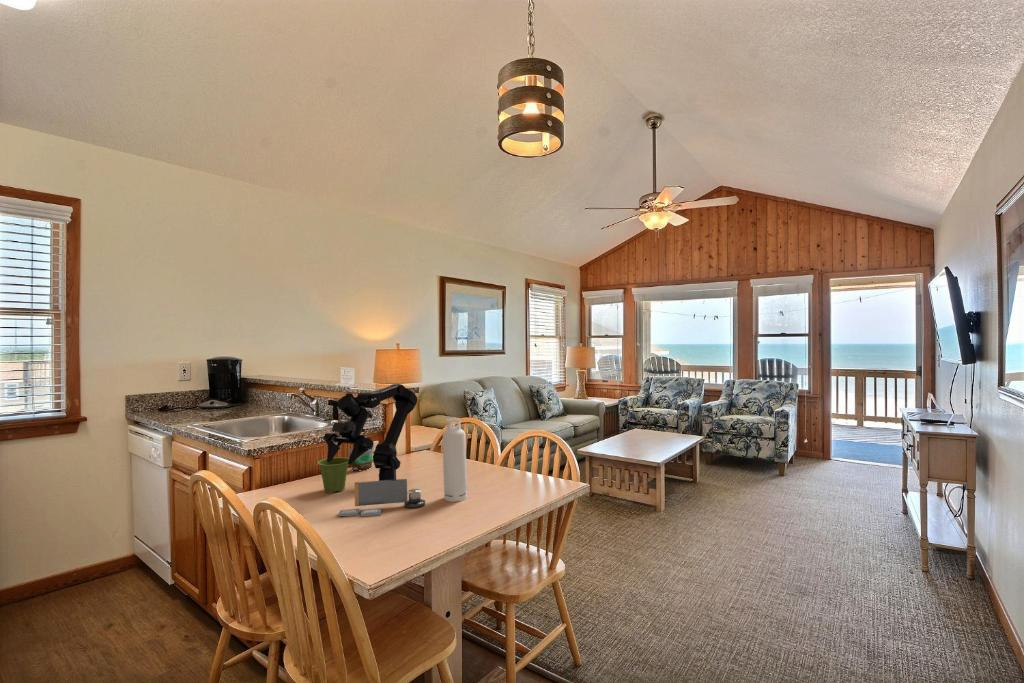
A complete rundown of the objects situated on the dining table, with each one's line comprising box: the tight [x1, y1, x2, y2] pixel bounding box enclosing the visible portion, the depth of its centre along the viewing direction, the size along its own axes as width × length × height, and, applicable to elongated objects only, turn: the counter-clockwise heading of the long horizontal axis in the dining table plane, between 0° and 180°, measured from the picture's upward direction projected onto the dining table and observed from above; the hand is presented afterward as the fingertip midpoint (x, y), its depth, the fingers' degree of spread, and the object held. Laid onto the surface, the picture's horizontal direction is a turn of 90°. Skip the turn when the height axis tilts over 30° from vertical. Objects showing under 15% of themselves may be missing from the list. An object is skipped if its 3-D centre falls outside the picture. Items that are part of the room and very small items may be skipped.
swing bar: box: [354, 478, 422, 507], centre depth 169 cm, size 22×4×8 cm, turn 100°
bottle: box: [442, 417, 468, 503], centre depth 177 cm, size 8×8×28 cm
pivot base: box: [403, 498, 426, 510], centre depth 170 cm, size 7×7×1 cm
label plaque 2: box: [360, 507, 382, 517], centre depth 162 cm, size 4×6×1 cm, turn 100°
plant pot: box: [317, 456, 349, 493], centre depth 190 cm, size 12×12×11 cm
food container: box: [348, 446, 375, 472], centre depth 220 cm, size 12×6×10 cm, turn 147°
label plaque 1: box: [338, 508, 361, 518], centre depth 163 cm, size 4×6×1 cm, turn 100°
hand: (338, 463), depth 172 cm, fingers open, 9 cm apart
